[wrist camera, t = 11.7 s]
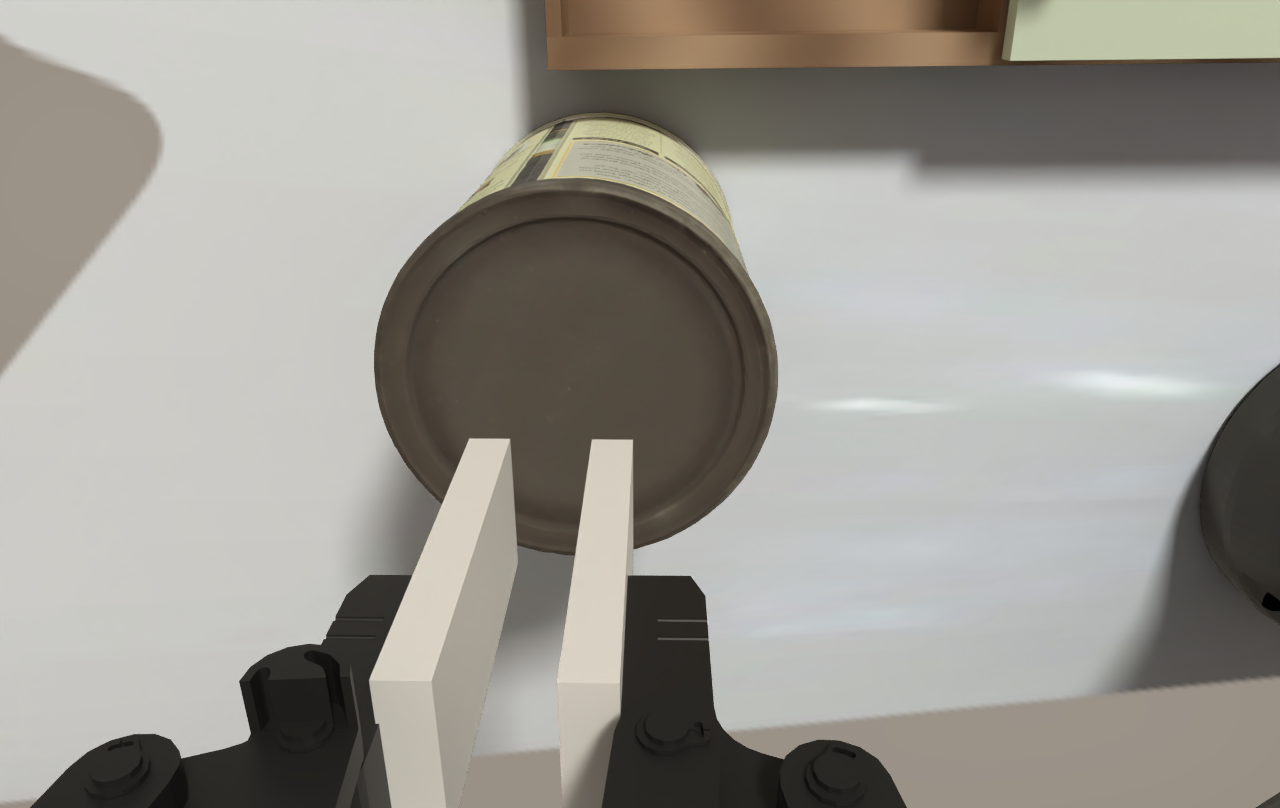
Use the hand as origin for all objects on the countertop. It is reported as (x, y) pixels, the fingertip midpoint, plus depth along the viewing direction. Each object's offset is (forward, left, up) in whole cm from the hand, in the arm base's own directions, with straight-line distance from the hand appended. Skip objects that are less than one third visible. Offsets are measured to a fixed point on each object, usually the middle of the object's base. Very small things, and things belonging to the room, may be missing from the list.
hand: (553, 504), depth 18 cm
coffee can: (0, 0, -21) cm, 21 cm away
